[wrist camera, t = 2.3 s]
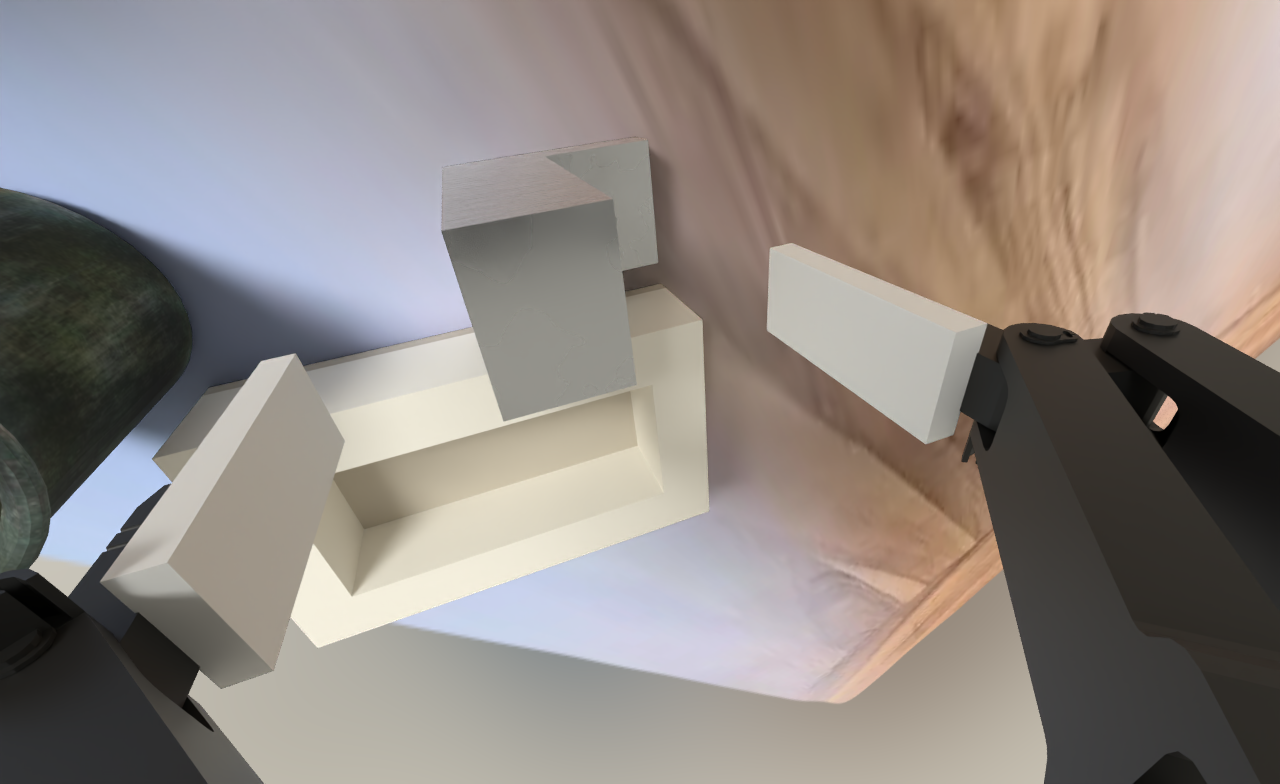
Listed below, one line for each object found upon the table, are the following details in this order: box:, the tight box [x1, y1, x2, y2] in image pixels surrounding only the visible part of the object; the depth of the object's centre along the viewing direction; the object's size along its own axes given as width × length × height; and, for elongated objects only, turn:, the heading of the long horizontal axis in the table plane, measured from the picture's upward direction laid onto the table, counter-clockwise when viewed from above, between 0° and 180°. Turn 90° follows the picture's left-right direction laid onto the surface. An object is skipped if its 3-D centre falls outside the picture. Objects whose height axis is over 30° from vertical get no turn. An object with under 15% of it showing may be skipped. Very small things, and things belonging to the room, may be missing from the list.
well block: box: [152, 284, 709, 648], centre depth 28 cm, size 14×24×6 cm, turn 96°
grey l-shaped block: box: [441, 137, 658, 422], centre depth 20 cm, size 6×10×13 cm, turn 96°
